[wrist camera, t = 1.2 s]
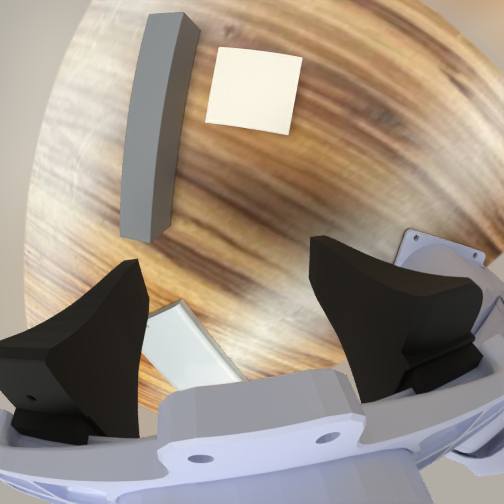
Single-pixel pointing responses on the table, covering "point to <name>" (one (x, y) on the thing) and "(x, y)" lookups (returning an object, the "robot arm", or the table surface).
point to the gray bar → (156, 124)
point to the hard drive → (186, 349)
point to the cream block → (253, 90)
